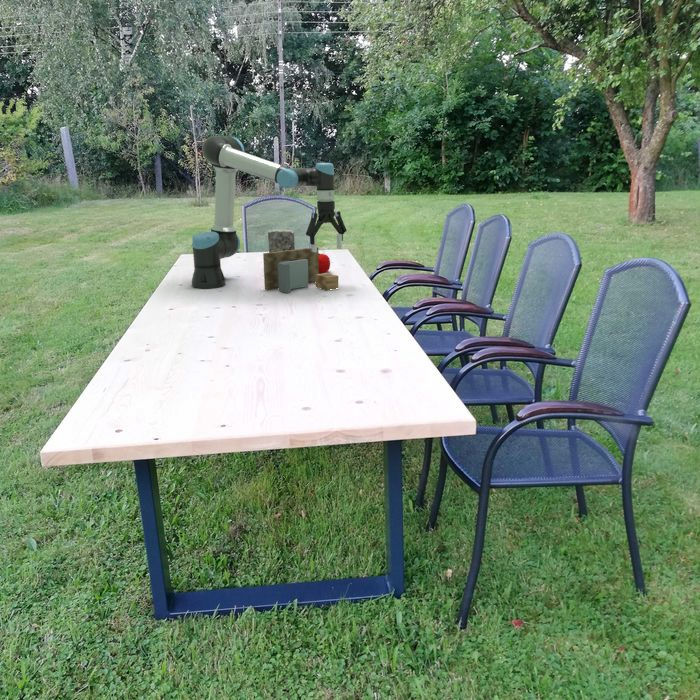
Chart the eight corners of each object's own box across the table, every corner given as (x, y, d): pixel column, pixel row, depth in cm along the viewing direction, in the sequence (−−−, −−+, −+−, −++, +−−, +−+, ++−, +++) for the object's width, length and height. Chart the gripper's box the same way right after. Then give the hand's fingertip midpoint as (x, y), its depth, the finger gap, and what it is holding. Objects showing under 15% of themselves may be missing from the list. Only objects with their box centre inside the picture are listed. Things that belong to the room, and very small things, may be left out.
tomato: (336, 273, 315) (335, 252, 312) (317, 276, 306) (316, 255, 303) (320, 270, 322) (320, 250, 319) (301, 273, 314) (301, 252, 311)
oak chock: (338, 289, 279) (338, 275, 277) (327, 291, 275) (327, 277, 274) (326, 286, 286) (326, 272, 284) (315, 287, 282) (315, 274, 280)
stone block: (269, 270, 321) (267, 231, 315) (269, 268, 328) (268, 229, 322) (295, 270, 322) (294, 230, 316) (295, 267, 329) (294, 228, 323)
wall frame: (267, 290, 277) (265, 253, 272) (264, 289, 278) (263, 253, 273) (319, 282, 293) (318, 247, 288) (316, 281, 295) (315, 247, 290)
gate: (286, 292, 270) (285, 264, 267) (278, 290, 275) (277, 262, 271) (314, 288, 279) (314, 261, 275) (306, 285, 284) (305, 259, 280)
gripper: (306, 202, 259) (308, 254, 265) (354, 199, 273) (354, 248, 280) (296, 201, 264) (298, 252, 271) (343, 198, 279) (344, 246, 285)
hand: (327, 250), depth 275 cm, fingers open, 13 cm apart
